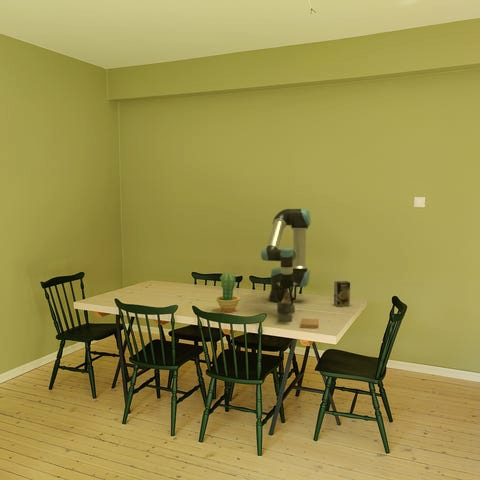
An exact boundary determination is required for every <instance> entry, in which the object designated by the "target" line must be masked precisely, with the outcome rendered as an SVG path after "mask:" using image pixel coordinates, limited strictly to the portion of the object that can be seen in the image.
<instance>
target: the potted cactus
mask: <svg viewBox="0 0 480 480" xmlns="http://www.w3.org/2000/svg"><path fill="white" fill-rule="evenodd" d="M219 279H220V282H221V283H220V284H221V288H222V296H218V297H216V302H217V303H218V305H219V307H220V308H221V310H222V311H221V312H223V311H227V312H226V313H233V312H235V311H236V308H237V306H238V304H239V302H240V301H241V300H240V297H239V296H236V295H233V293H234V289H235V286H236V277H235V276H234V275H233V273H232V272H227V271H226V272H224V273H223V274H221V276H220V277H219ZM232 311H233V312H232Z"/></svg>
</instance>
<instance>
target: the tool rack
mask: <svg viewBox="0 0 480 480" xmlns="http://www.w3.org/2000/svg"><path fill="white" fill-rule="evenodd" d="M295 307H296V305H294V304H293V306H291V314H283V313H277V321H278V322H292V321H293V314H295V312H296V308H295Z"/></svg>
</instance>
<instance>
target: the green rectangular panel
mask: <svg viewBox="0 0 480 480" xmlns="http://www.w3.org/2000/svg"><path fill="white" fill-rule="evenodd" d="M300 319H301V321H300V323H299V324H300V326H299V328H300V329H316V328H318V329H319V326H318V325H320V320H319V318H300Z"/></svg>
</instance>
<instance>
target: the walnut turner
mask: <svg viewBox="0 0 480 480" xmlns="http://www.w3.org/2000/svg"><path fill="white" fill-rule="evenodd" d="M290 300H291V298H290V293H287V292H286V293H285V295H284V297H283V299H282V302H281V303H276V304H277V305H276V309H277V311H276V313H277V314H279V313H283V314H291V303H290Z"/></svg>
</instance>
